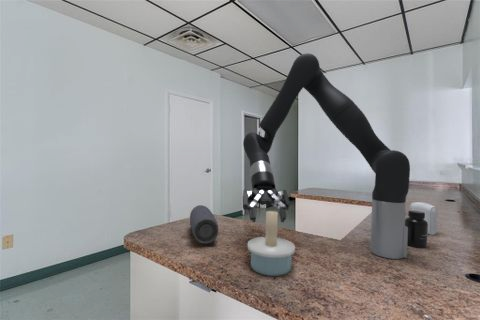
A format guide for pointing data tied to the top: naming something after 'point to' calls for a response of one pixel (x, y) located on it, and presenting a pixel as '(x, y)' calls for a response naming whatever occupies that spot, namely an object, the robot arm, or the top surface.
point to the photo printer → (427, 215)
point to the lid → (271, 240)
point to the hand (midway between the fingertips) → (268, 220)
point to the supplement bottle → (417, 229)
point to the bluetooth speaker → (203, 224)
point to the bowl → (271, 265)
